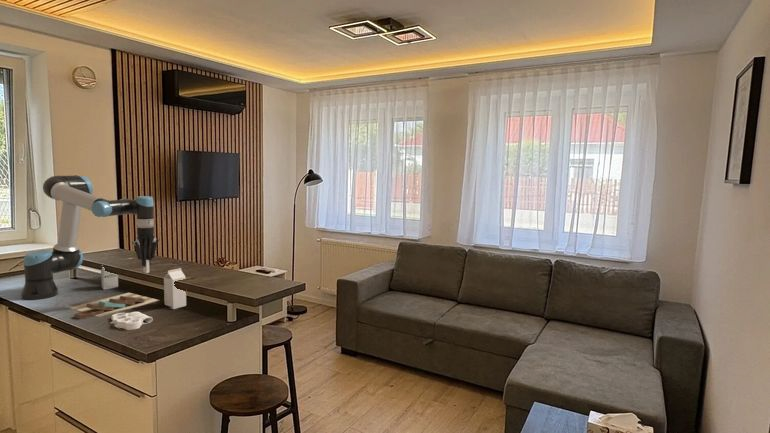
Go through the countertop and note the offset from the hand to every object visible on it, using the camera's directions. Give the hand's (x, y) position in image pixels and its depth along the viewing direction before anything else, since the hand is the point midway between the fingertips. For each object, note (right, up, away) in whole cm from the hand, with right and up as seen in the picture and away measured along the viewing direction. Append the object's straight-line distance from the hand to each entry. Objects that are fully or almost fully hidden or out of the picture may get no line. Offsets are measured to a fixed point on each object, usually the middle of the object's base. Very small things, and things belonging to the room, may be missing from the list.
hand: (146, 272), depth 225 cm
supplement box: (-34, -12, +25) cm, 44 cm away
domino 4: (-4, -14, -7) cm, 16 cm away
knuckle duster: (+9, -20, -30) cm, 37 cm away
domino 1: (-10, -15, -20) cm, 27 cm away
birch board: (-12, -16, -7) cm, 21 cm away
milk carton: (+17, -17, -5) cm, 25 cm away
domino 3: (-6, -15, -11) cm, 19 cm away
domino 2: (-8, -15, -16) cm, 23 cm away
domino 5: (-1, -14, -2) cm, 14 cm away
